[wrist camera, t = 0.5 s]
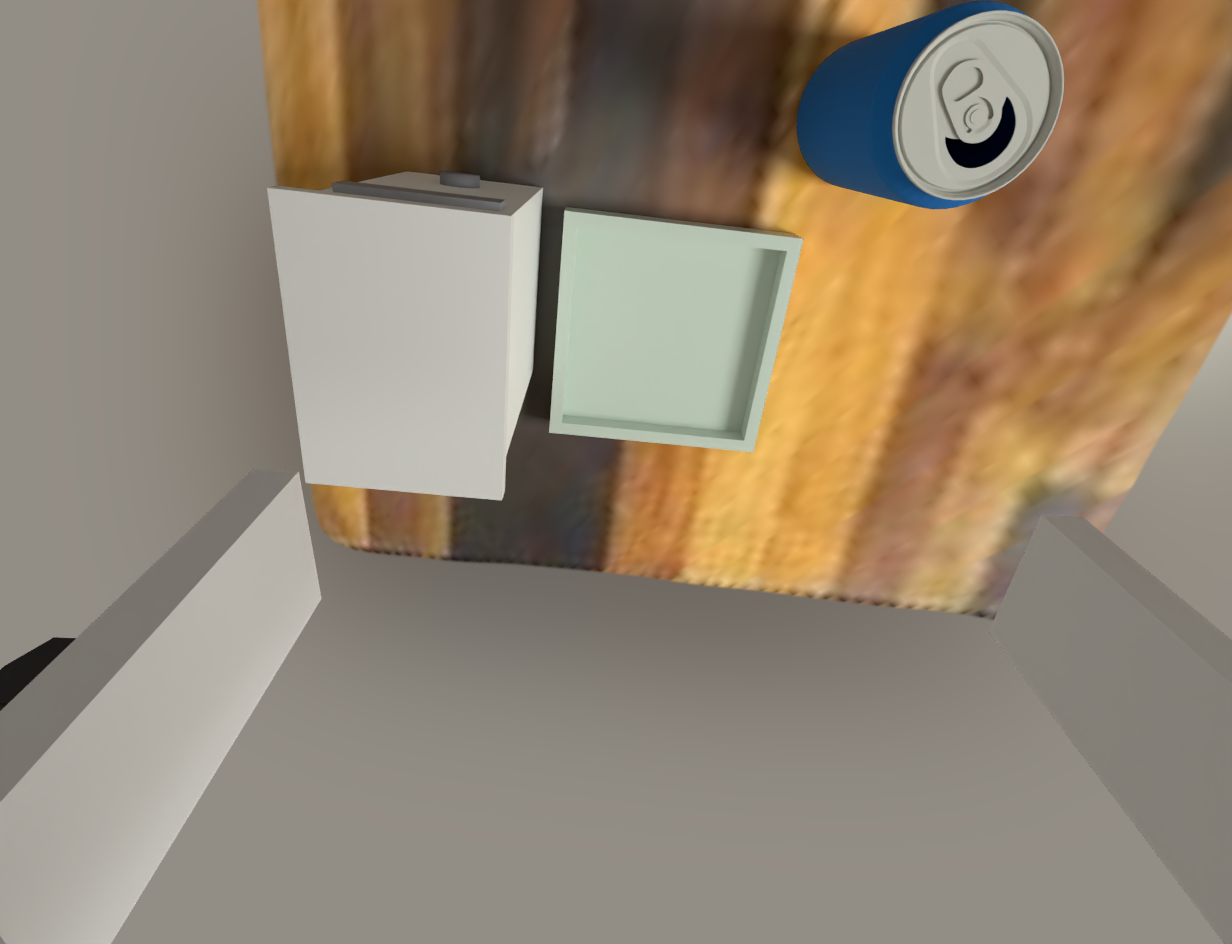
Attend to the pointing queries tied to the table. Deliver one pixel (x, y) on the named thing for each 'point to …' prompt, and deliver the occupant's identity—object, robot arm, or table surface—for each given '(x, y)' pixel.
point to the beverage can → (934, 106)
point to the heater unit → (409, 327)
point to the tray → (667, 328)
